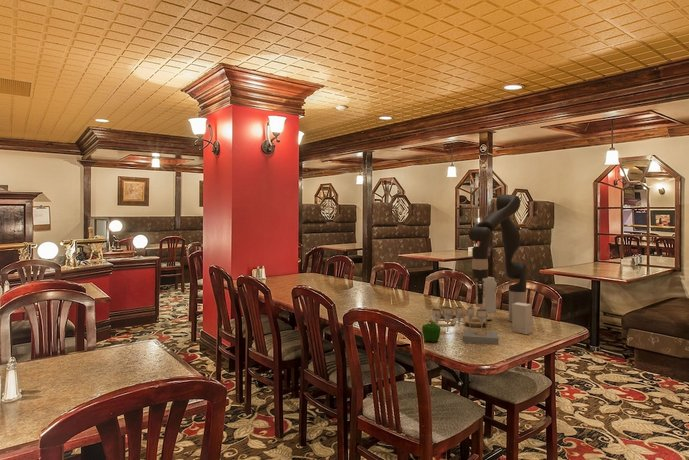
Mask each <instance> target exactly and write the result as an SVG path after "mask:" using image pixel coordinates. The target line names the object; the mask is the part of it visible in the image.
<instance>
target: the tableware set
mask: <svg viewBox="0 0 689 460" xmlns="http://www.w3.org/2000/svg"><path fill="white" fill-rule="evenodd" d="M437 309H440V310H441V317H440V319H439V321H445V322H447V321H446V319H445V318H443V317H444V316H443V309H441V308H439V307H438V308H437ZM455 316H456V314H455V310H453V315H452V317H451V319H450V320H449V322H451V323H450V324H448V327H452V326H451V325H453V326H455V325H456V323H457V321H458V320H457V318H454V317H455ZM428 319H429V320H430V321H431V322H432V321H435V320H434V319H433V317H429V318H428ZM493 319H494V318H492V317H489V316H488V317H487V319H486V320H485V321H484V322H483V324H487V321H490V320H492V321H493ZM463 321H464V323H466V324H467V325H468V326H469V327H470V321H469V319H468V316H467V314H466V315H465V316H464V317H463ZM431 322H430V323H431ZM433 324H434V323H433ZM435 324H436V323H435ZM483 324H482V325H483ZM437 325H439V327H447V324H438V323H437ZM471 327H474V328H477V327H478V328H479V327H481V322H480V321H479V320H478V319H477V317H476V314H474V316H473V318H472V321H471Z"/></svg>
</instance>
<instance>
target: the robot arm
mask: <svg viewBox="0 0 689 460" xmlns="http://www.w3.org/2000/svg"><path fill="white" fill-rule="evenodd" d="M495 203H496V205H495V206H496V211H493V212H492V213H491V212H490V213H489V214H488V215H487V216H486V217H485V218H483V220H482V221H481V222H478V223H477V224H474V225H473V226H472V227H471V228H470V229H469V231H468V238H469V239H470V240H471V241H472V242H479V243H480V244H479V245H477V246H476V245H475V246H474V247H473V248H472V261H471V276H472V278H474V279H477V280H475V287H476V286H477V291H478V294H477V295H478V304H483V291H484V281H483V278H488V277H489V261H488V251H489V247H490V242H491V239H492V232H493V231H494V230H495V229H496V228H497V227H498V226H499V225H500V231H501V240H502V244H503V251H504V262H505V273H506V277H507V278H508V279H511V280H512V279H513V280H518V282H516V283H514V284H513V283H512V284H510V285H509V286H508V321H509V322H511V323H513V322H512V304H513V303H517V302H519V303H526V304H527V275H528V267H527V264H526V263H525V262H515V261H513V258H514V255H515V254H516V252H517V251H518V249H519V248H520V246H521V242H522V241H521V240H522V239H521V234H520V230H519V229H518V227H517V226H516V225H515V223H514V222H513V220H511V218H510V216H513V215H514V214H515V213H517V212H518V211H519V209H520V207H521V199H520V197H519V196H518V195H516V194H504V193H503V194H498V196H497V197H496V201H495ZM479 291H482V293H479Z"/></svg>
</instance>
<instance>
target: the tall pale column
mask: <svg viewBox="0 0 689 460" xmlns="http://www.w3.org/2000/svg"><path fill="white" fill-rule="evenodd" d="M483 281H484V286H485V307H479V309H484V310H486V311H487V314H489V313H497V299H496V294H497V293H496V292H497V285H498V284H497V283H498V282H496V280H495V277H492V276H488V278H483Z"/></svg>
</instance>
